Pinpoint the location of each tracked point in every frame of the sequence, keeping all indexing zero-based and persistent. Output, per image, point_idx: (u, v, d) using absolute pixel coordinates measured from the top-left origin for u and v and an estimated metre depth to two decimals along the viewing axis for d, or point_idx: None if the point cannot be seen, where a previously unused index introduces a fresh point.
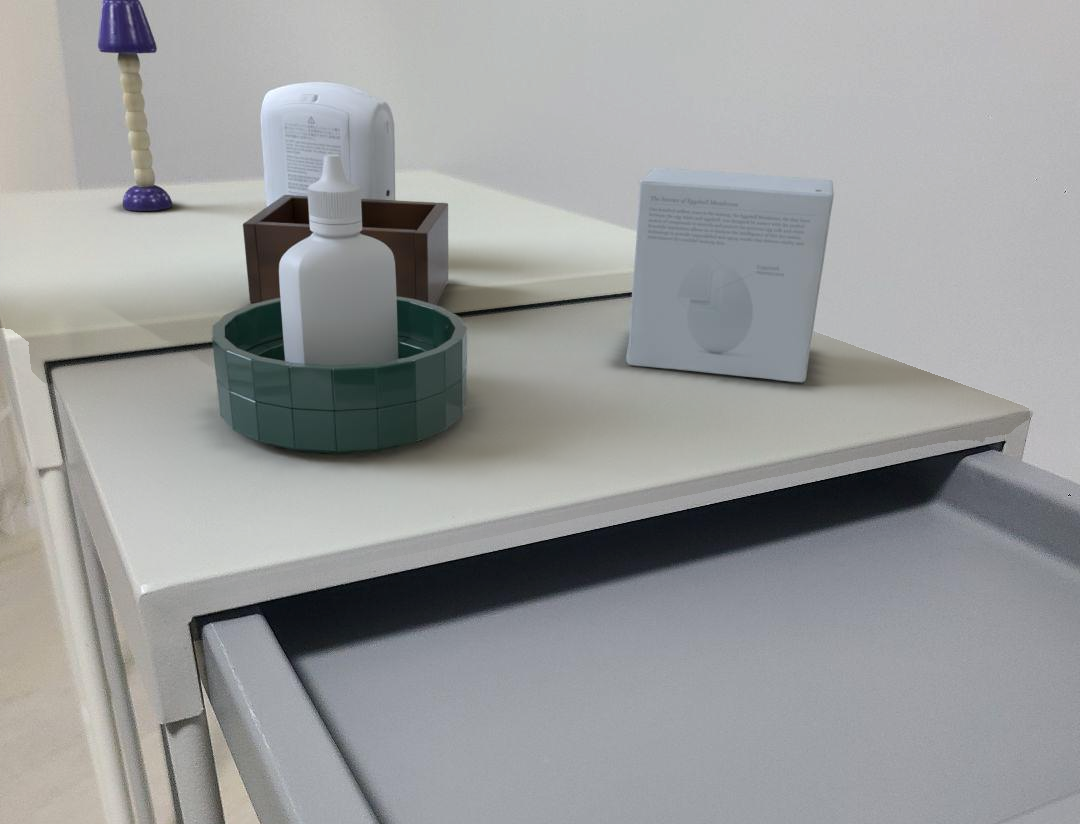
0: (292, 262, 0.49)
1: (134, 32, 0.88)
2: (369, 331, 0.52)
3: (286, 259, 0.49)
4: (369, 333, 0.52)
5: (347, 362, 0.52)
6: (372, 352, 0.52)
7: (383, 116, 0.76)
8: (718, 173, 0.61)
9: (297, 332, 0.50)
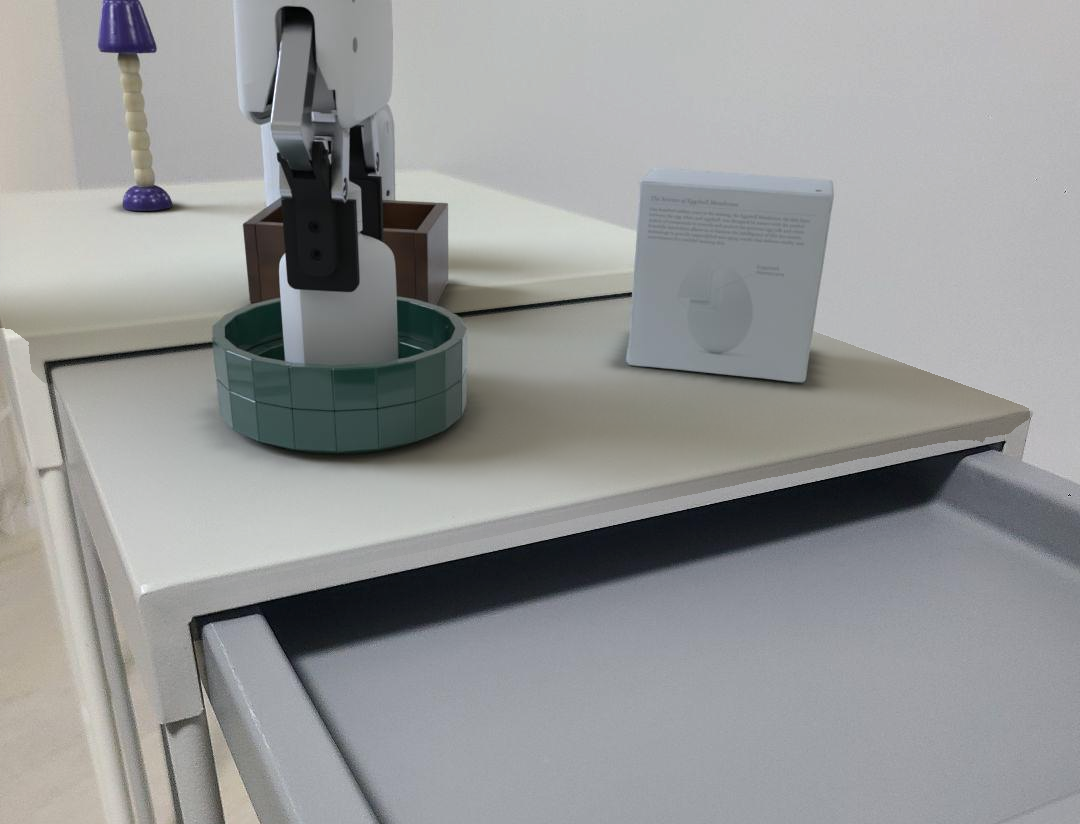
0: None
1: (134, 32, 0.88)
2: (369, 331, 0.52)
3: None
4: (369, 333, 0.52)
5: (347, 362, 0.52)
6: (373, 352, 0.52)
7: (383, 116, 0.76)
8: (718, 173, 0.61)
9: (297, 332, 0.50)
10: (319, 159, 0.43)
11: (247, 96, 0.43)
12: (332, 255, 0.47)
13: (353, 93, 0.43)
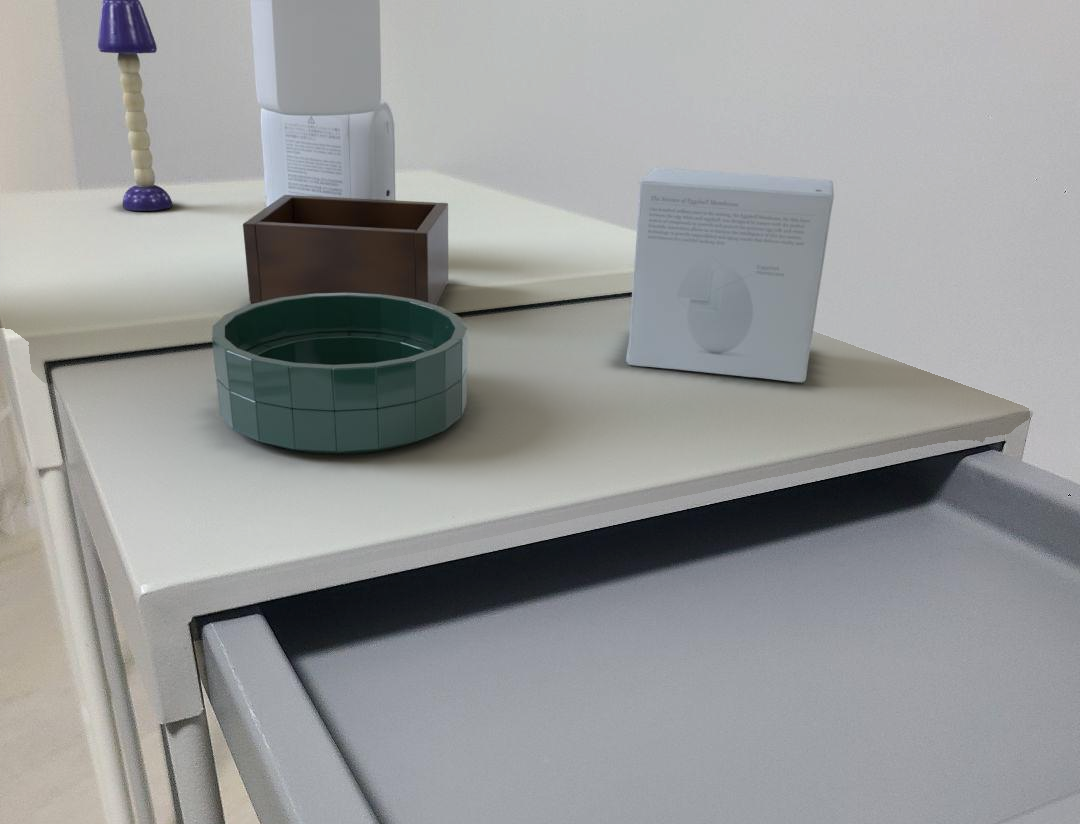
0: None
1: (134, 32, 0.88)
2: (348, 15, 0.46)
3: None
4: (347, 17, 0.46)
5: (322, 48, 0.46)
6: (351, 42, 0.47)
7: (383, 116, 0.76)
8: (718, 173, 0.61)
9: (266, 5, 0.45)
10: None
11: None
12: None
13: None
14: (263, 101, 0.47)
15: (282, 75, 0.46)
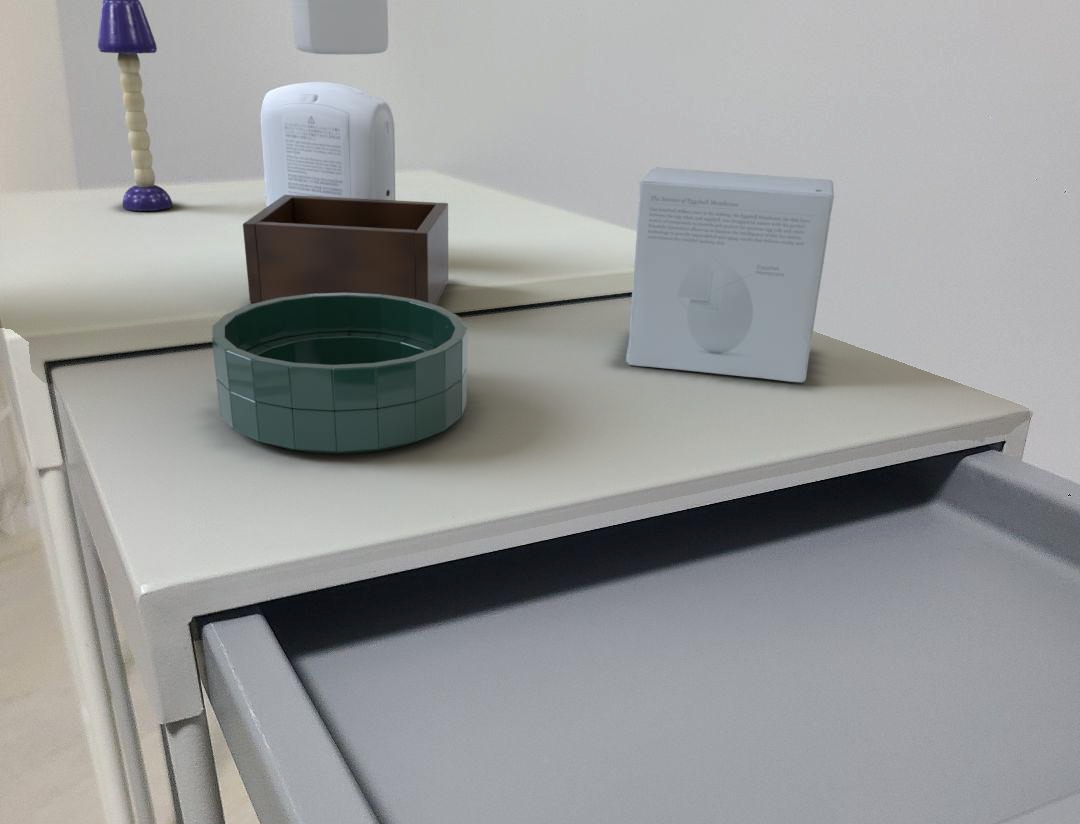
0: None
1: (134, 32, 0.88)
2: None
3: None
4: None
5: (344, 1, 0.61)
6: None
7: (383, 116, 0.76)
8: (718, 173, 0.61)
9: None
10: None
11: None
12: None
13: None
14: (299, 43, 0.62)
15: (313, 22, 0.61)
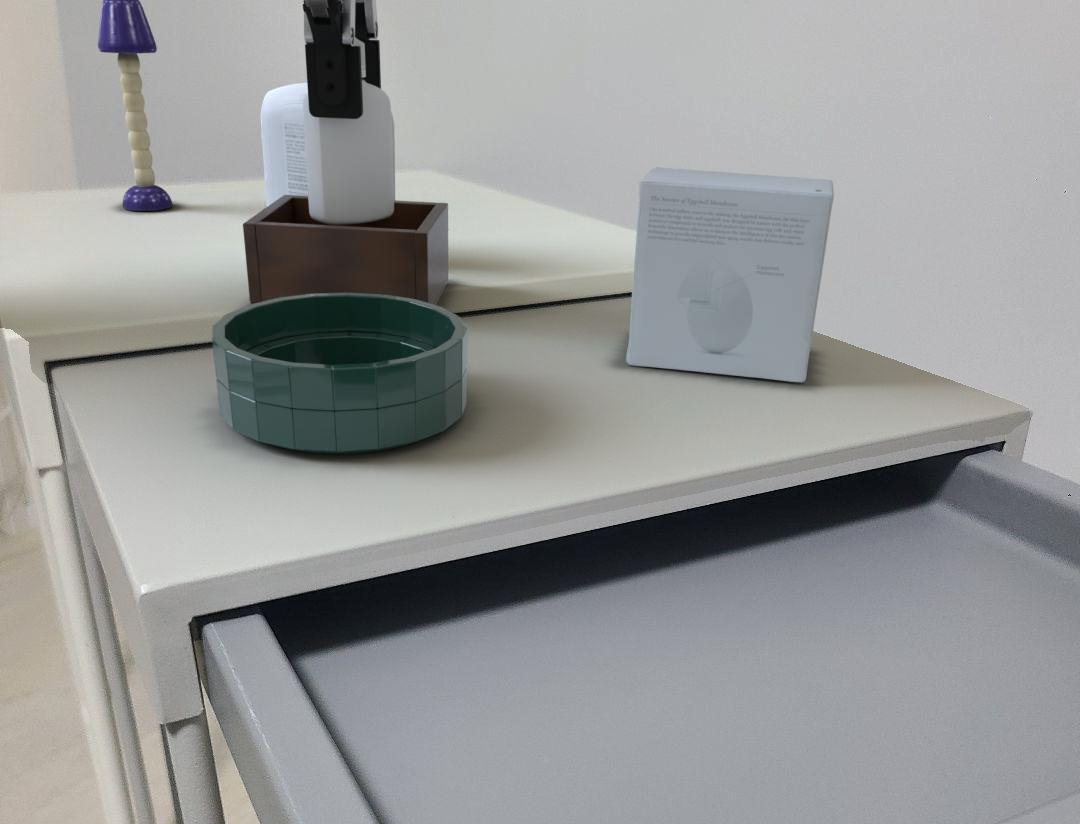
0: None
1: (134, 32, 0.88)
2: (371, 157, 0.68)
3: None
4: (371, 158, 0.68)
5: (354, 180, 0.68)
6: (373, 174, 0.69)
7: None
8: (718, 173, 0.61)
9: (316, 154, 0.67)
10: (333, 8, 0.60)
11: None
12: (342, 87, 0.63)
13: None
14: (314, 215, 0.69)
15: (327, 199, 0.68)
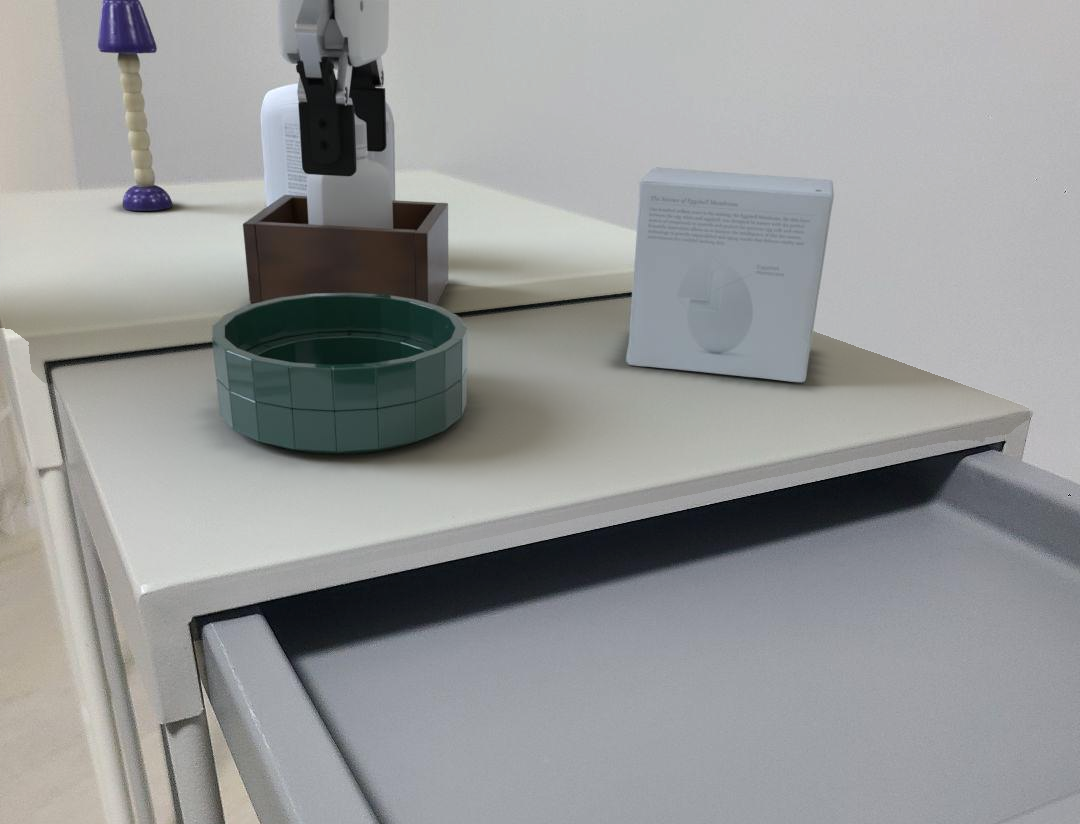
0: (316, 176, 0.68)
1: (134, 32, 0.88)
2: None
3: (312, 174, 0.68)
4: None
5: None
6: None
7: None
8: (718, 173, 0.61)
9: None
10: (327, 69, 0.59)
11: (286, 42, 0.61)
12: (335, 145, 0.63)
13: (360, 40, 0.62)
14: None
15: None
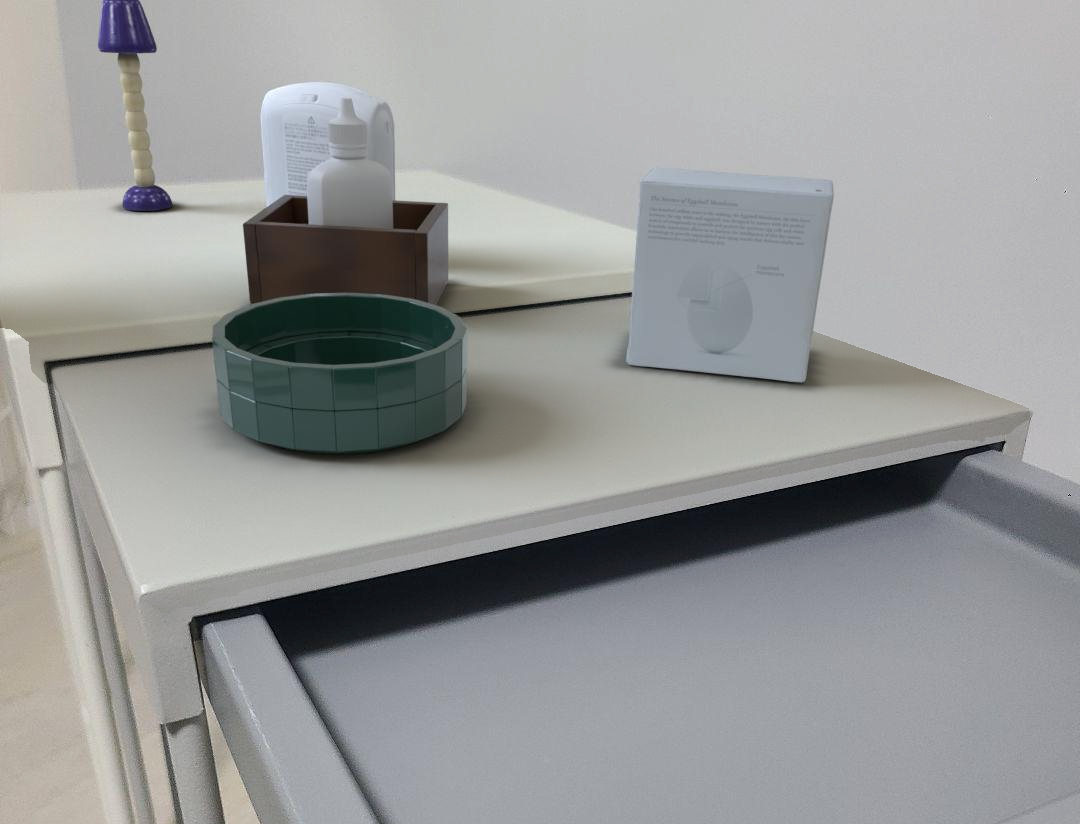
0: (317, 176, 0.68)
1: (134, 32, 0.88)
2: None
3: (312, 174, 0.68)
4: None
5: None
6: None
7: (383, 116, 0.76)
8: (718, 173, 0.61)
9: None
10: None
11: None
12: None
13: None
14: None
15: None
